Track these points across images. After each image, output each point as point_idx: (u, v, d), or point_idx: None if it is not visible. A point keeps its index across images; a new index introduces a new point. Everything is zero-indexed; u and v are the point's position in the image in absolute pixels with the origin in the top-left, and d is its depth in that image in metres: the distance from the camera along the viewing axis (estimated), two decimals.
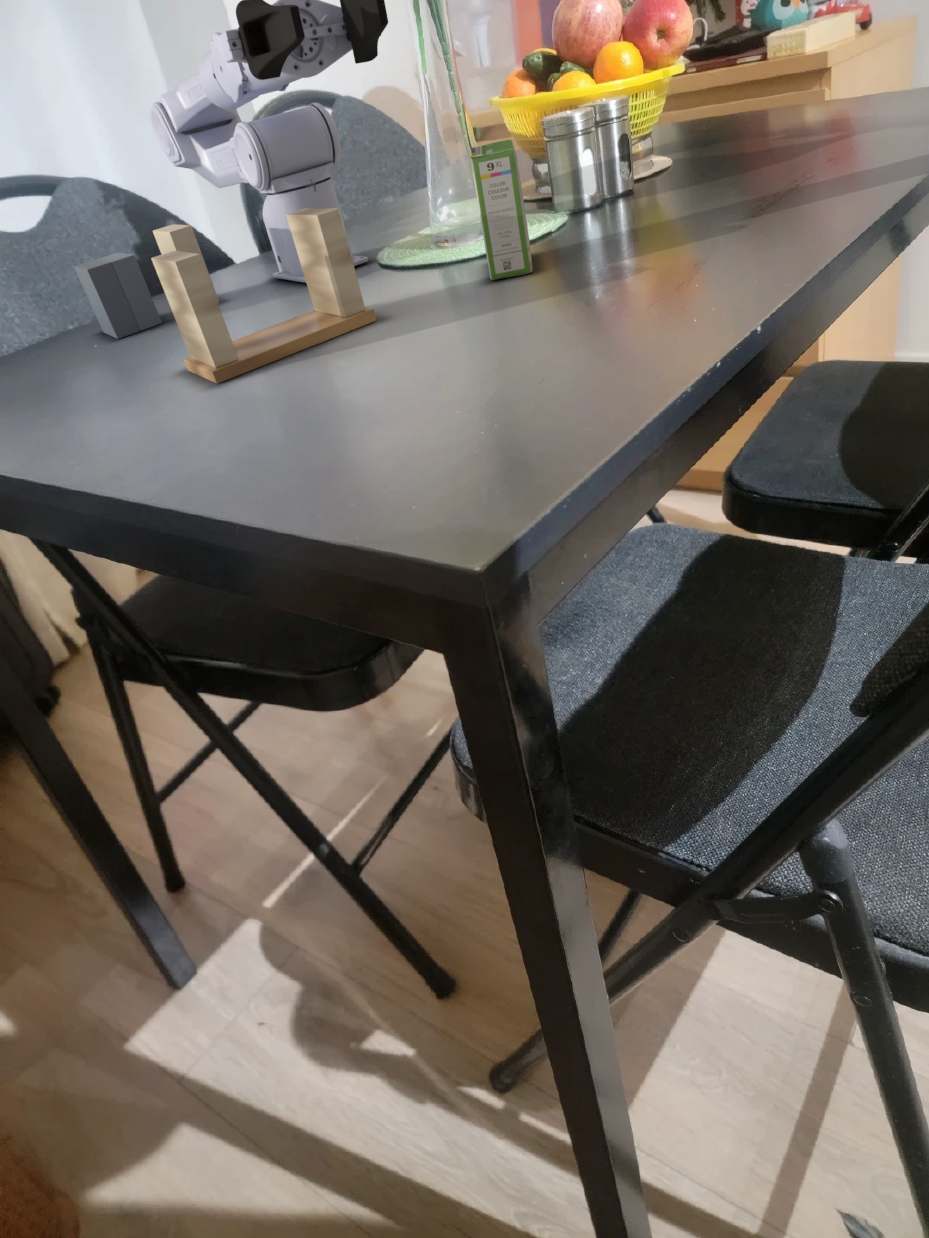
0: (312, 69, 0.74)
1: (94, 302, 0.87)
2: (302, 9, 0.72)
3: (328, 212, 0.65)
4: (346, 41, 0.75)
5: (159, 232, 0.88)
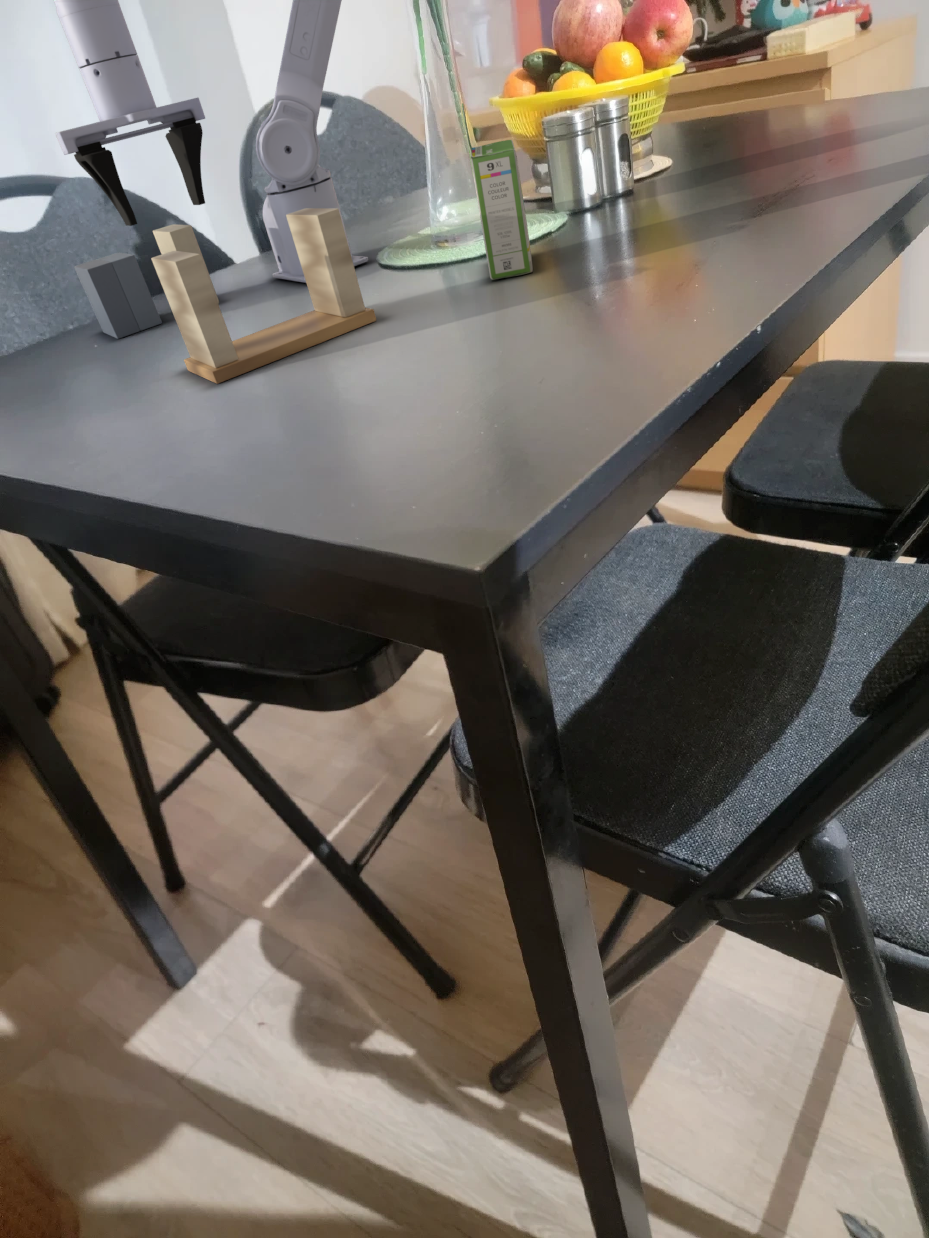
0: None
1: (94, 302, 0.87)
2: None
3: (328, 212, 0.65)
4: None
5: (159, 232, 0.88)
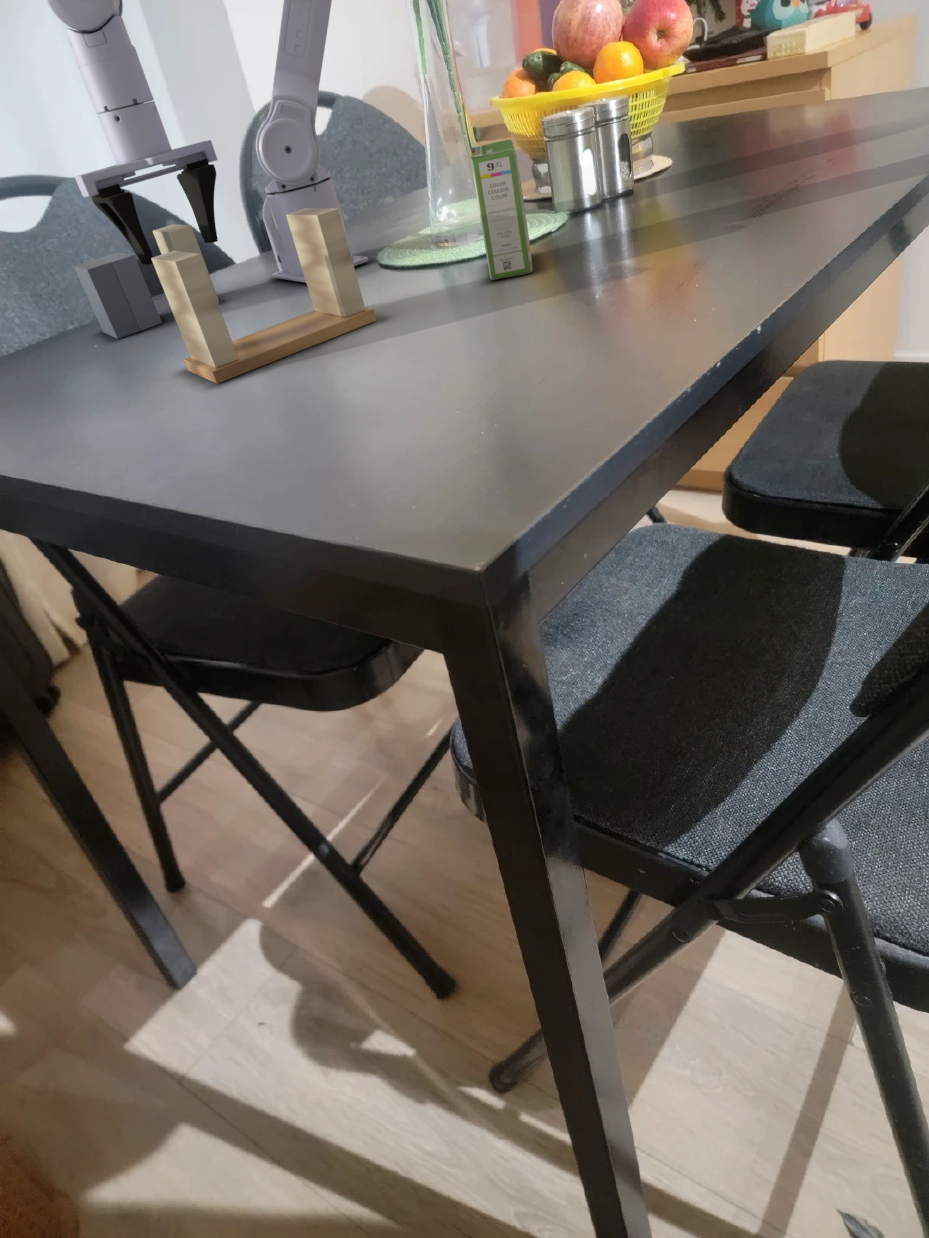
0: None
1: (94, 302, 0.87)
2: None
3: (328, 212, 0.65)
4: None
5: (159, 232, 0.88)
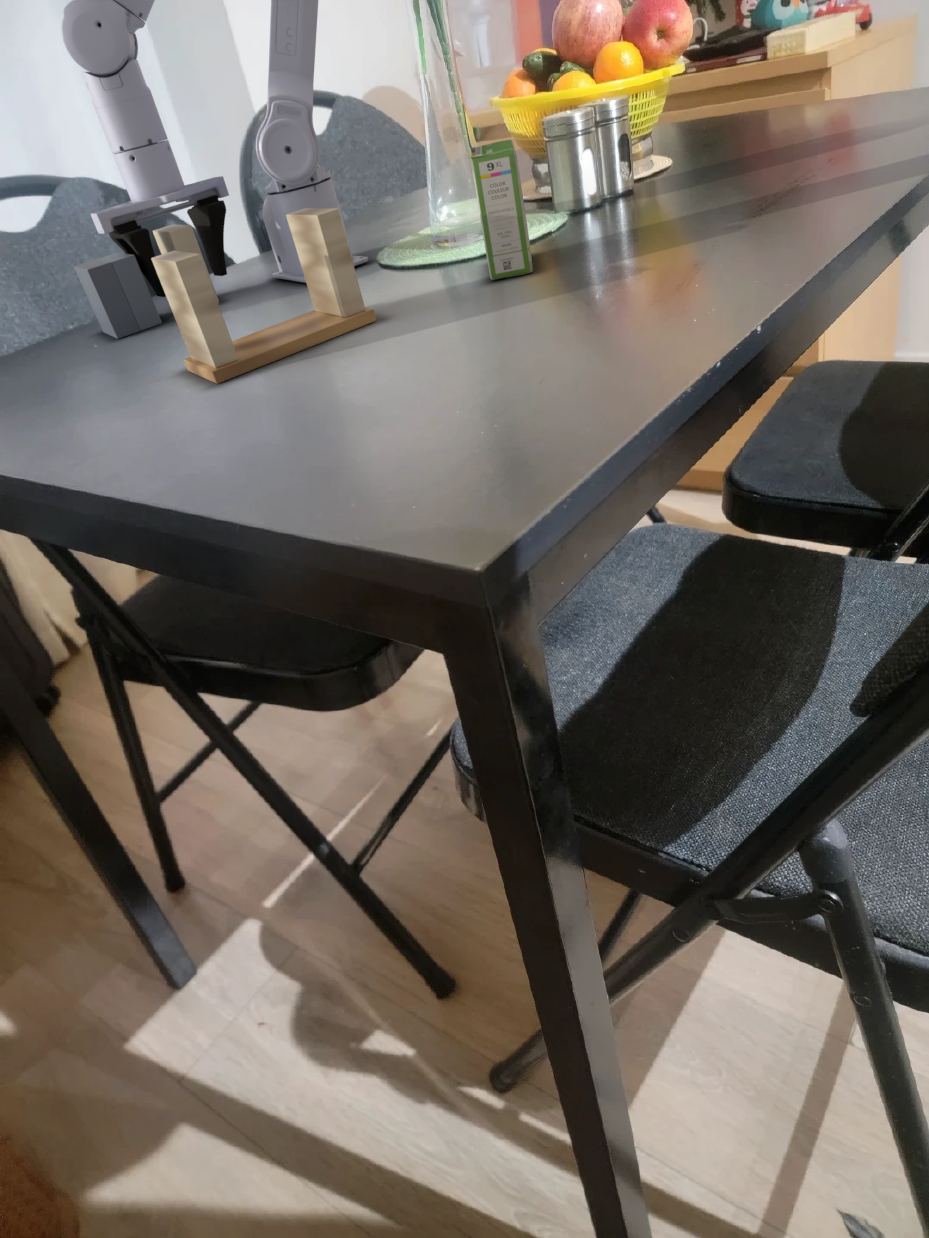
0: None
1: (94, 302, 0.87)
2: None
3: (328, 212, 0.65)
4: None
5: (159, 232, 0.88)
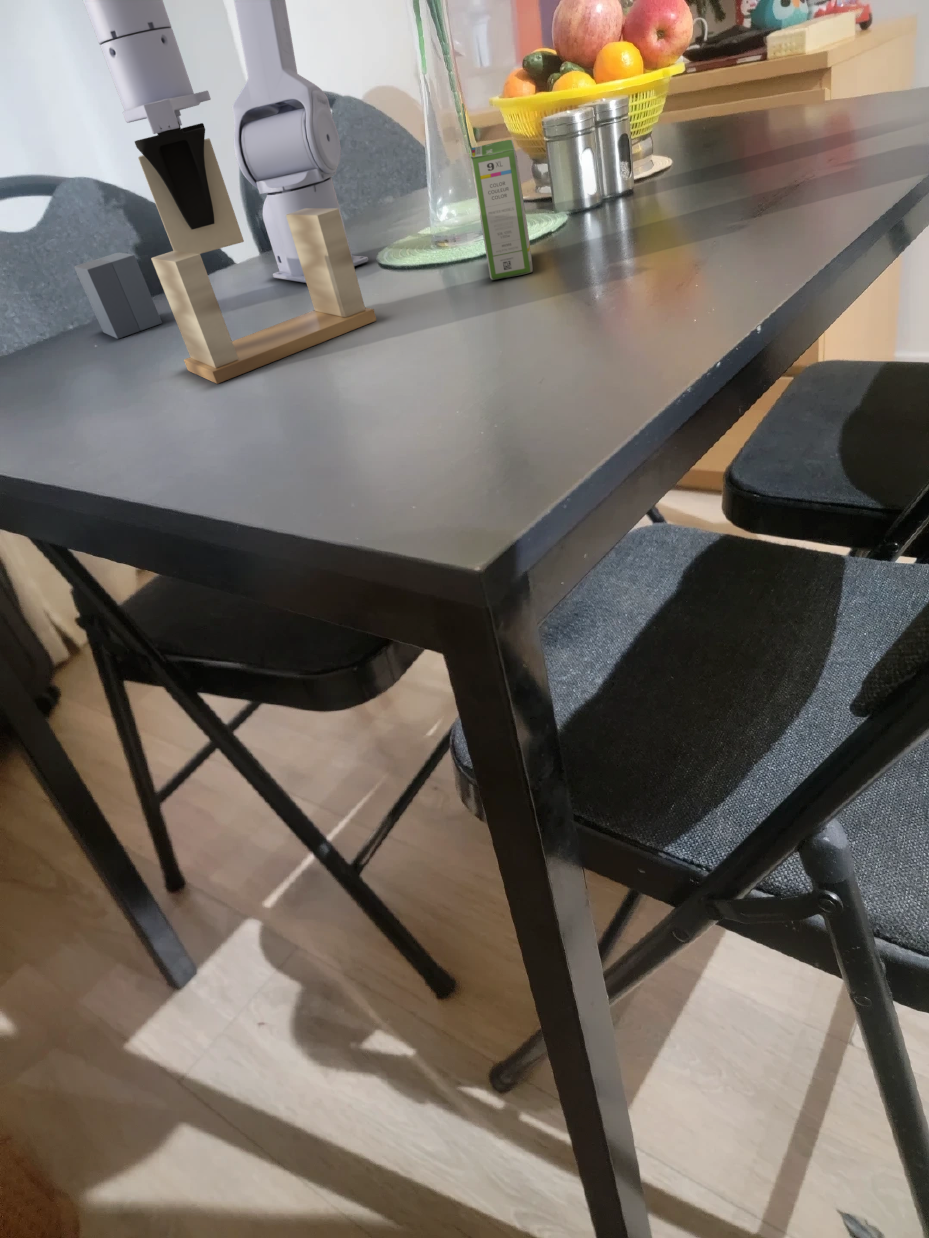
0: None
1: (94, 302, 0.87)
2: None
3: (328, 212, 0.65)
4: None
5: None
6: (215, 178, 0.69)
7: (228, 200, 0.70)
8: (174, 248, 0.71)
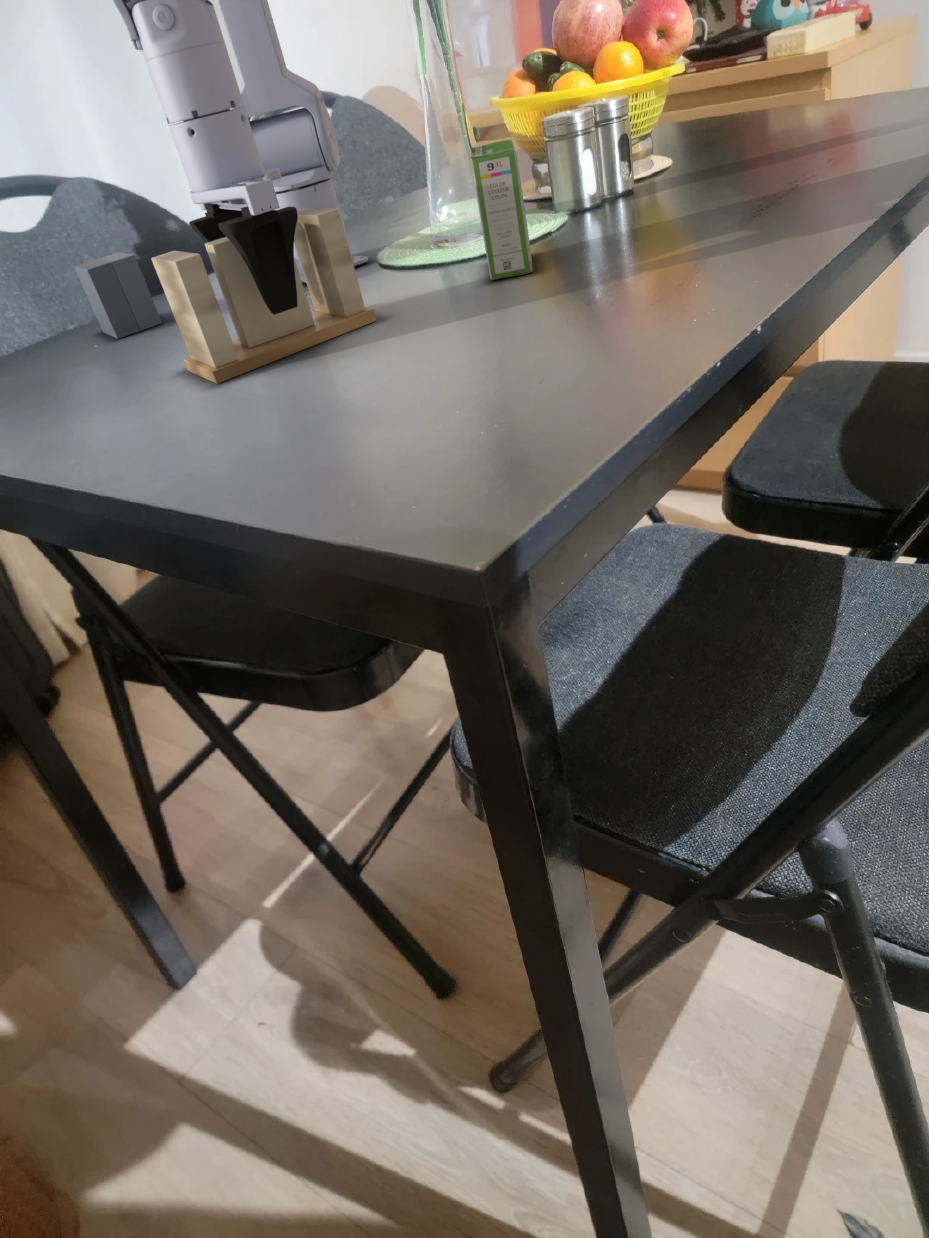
0: None
1: (94, 302, 0.87)
2: None
3: (328, 212, 0.65)
4: None
5: None
6: None
7: (300, 284, 0.67)
8: (246, 336, 0.67)
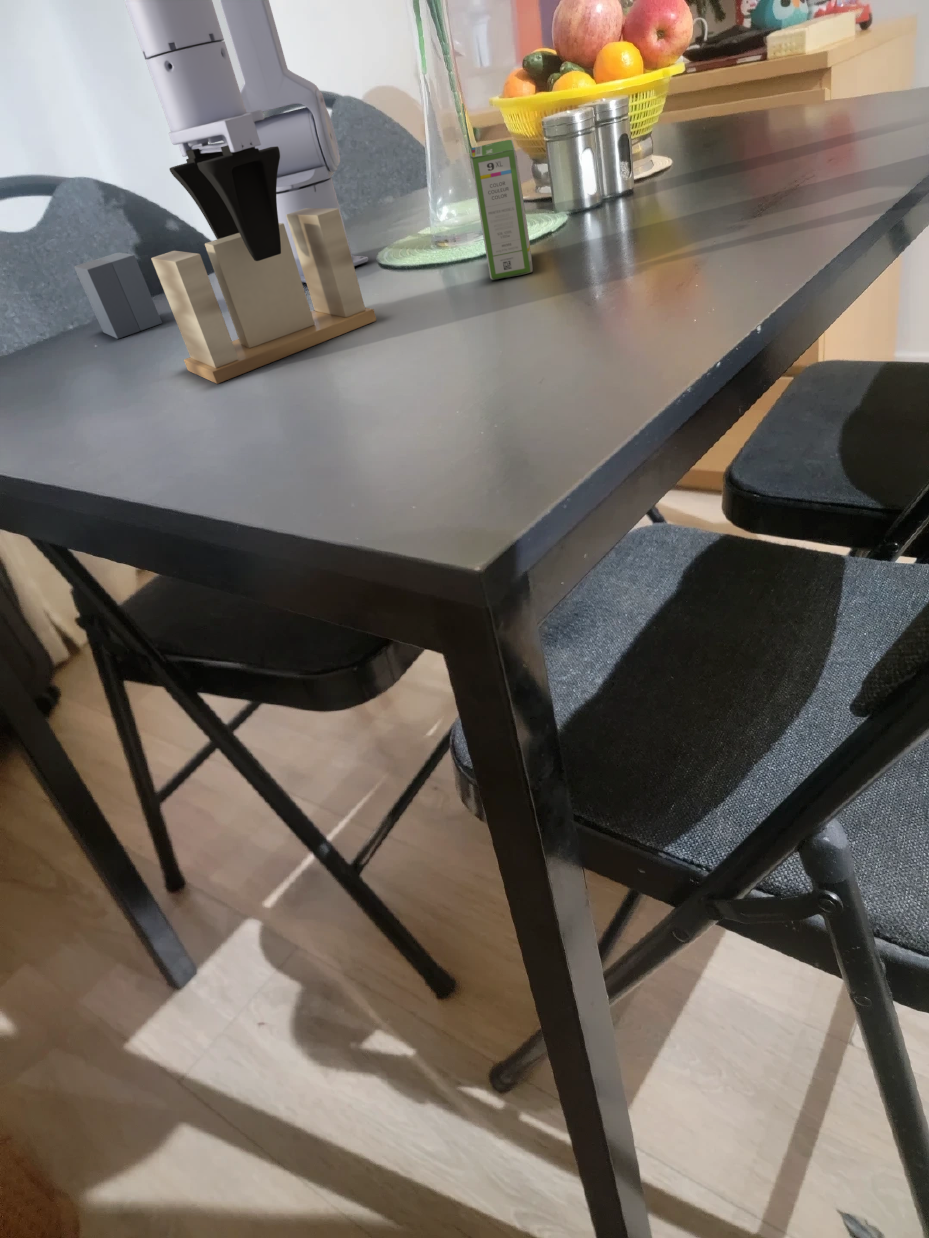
0: None
1: (94, 302, 0.87)
2: None
3: (328, 212, 0.65)
4: None
5: None
6: (288, 262, 0.66)
7: (300, 284, 0.67)
8: (246, 336, 0.67)
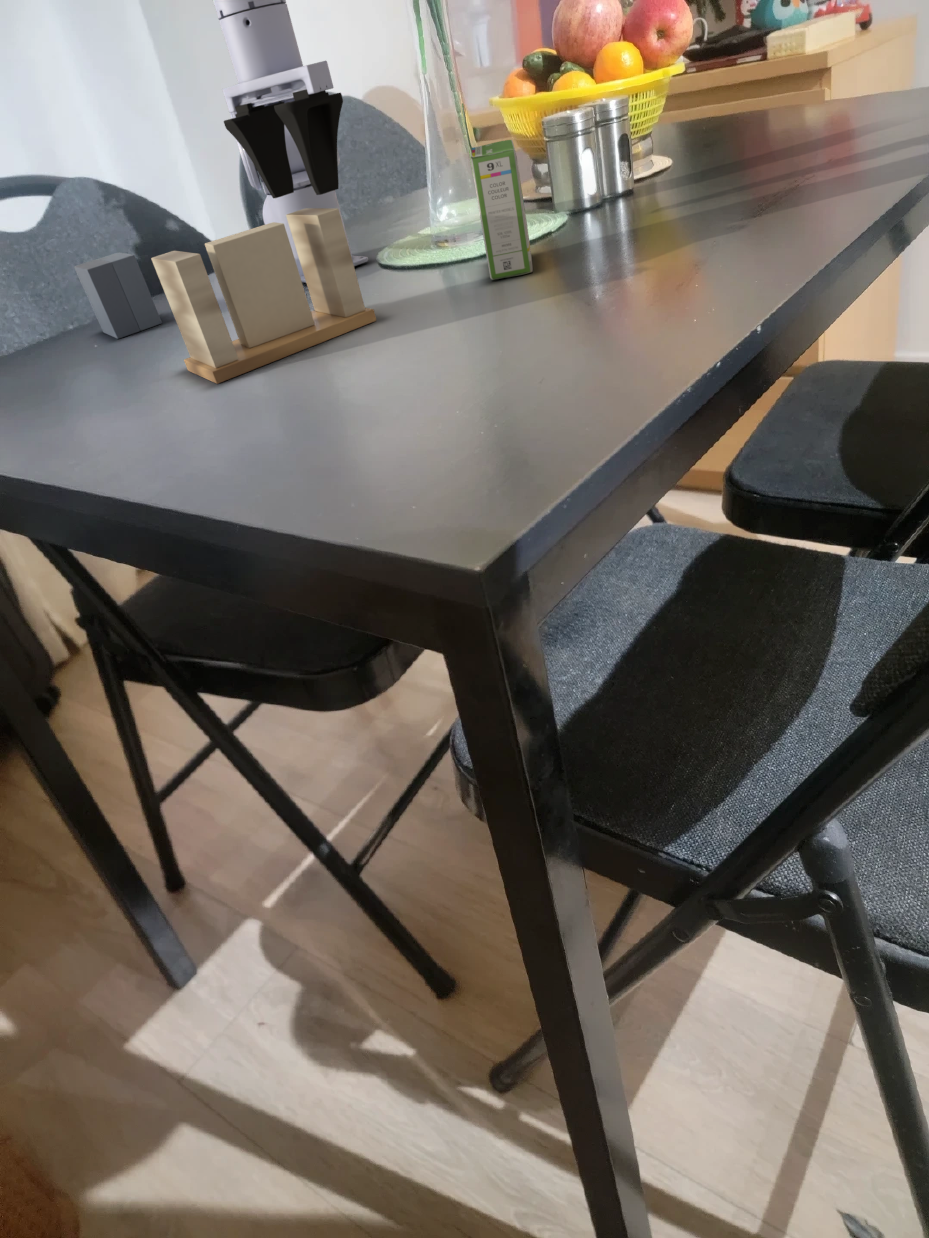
0: (247, 93, 0.69)
1: (94, 302, 0.87)
2: None
3: (328, 212, 0.65)
4: None
5: (243, 237, 0.64)
6: (288, 262, 0.66)
7: (300, 284, 0.67)
8: (246, 336, 0.67)
